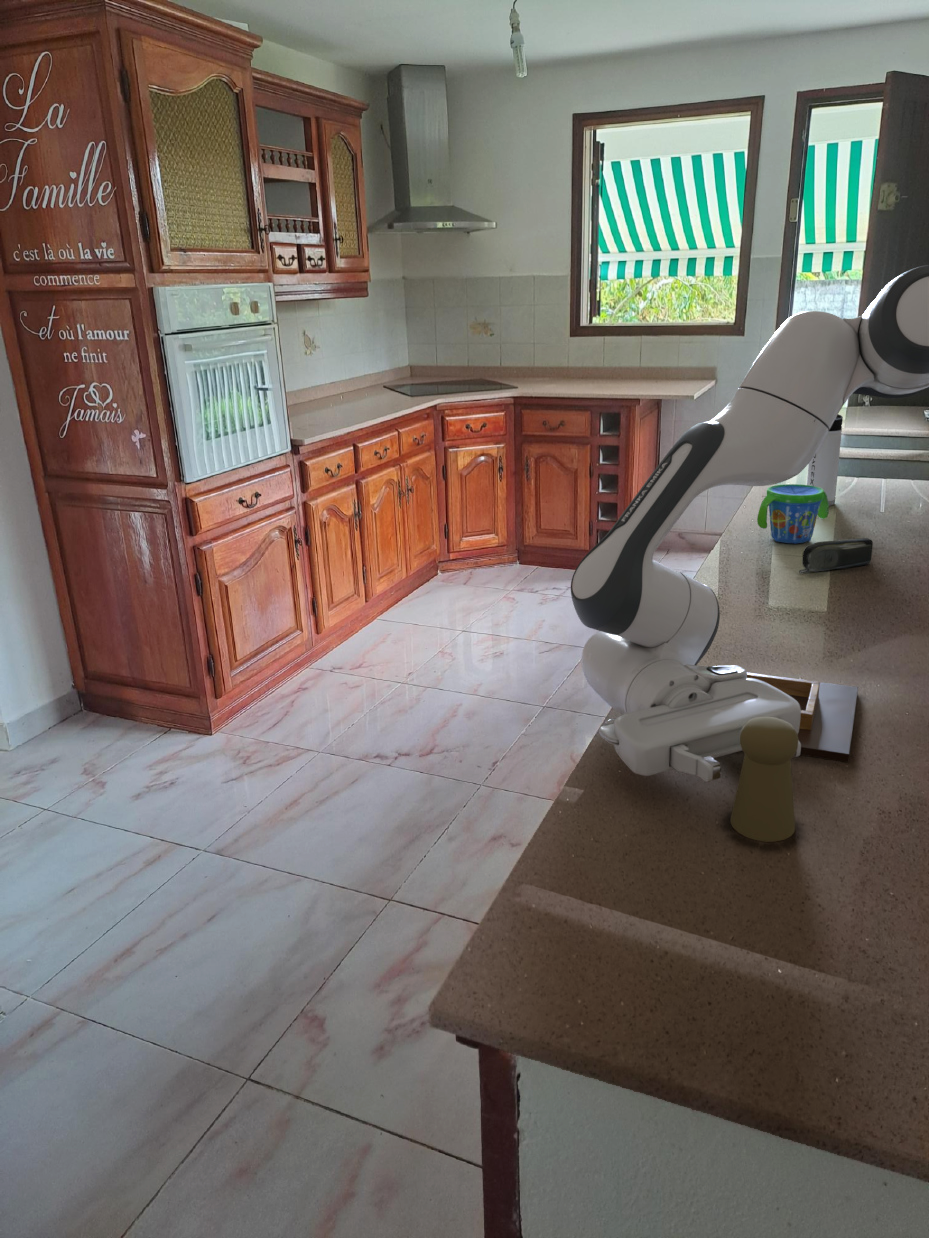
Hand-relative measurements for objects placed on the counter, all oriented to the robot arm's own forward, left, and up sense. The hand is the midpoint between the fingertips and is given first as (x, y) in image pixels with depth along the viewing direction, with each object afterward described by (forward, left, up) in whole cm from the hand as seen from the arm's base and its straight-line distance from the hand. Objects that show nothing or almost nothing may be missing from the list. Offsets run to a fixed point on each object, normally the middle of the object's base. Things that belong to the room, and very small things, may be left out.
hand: (755, 762), depth 85 cm
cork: (0, +2, -6) cm, 6 cm away
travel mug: (-93, -94, -6) cm, 133 cm away
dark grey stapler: (-62, -56, -6) cm, 84 cm away
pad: (-16, -16, -6) cm, 24 cm away
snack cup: (-68, -74, -6) cm, 101 cm away
